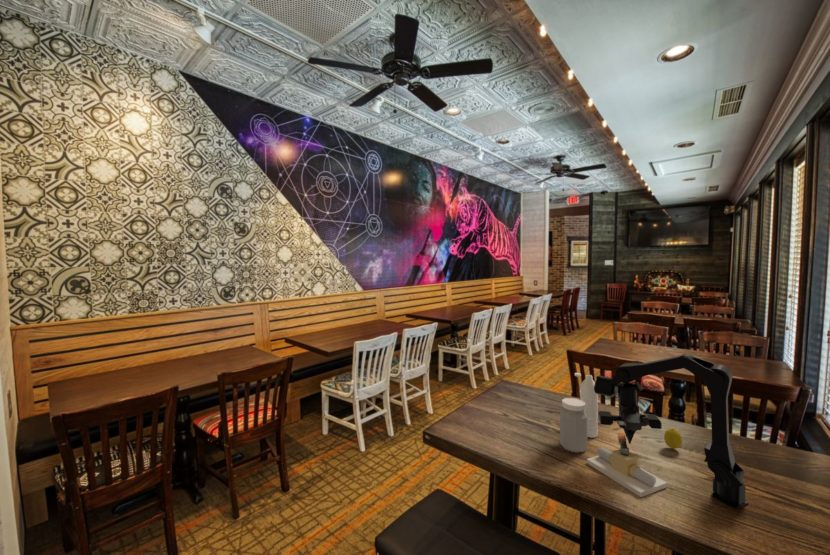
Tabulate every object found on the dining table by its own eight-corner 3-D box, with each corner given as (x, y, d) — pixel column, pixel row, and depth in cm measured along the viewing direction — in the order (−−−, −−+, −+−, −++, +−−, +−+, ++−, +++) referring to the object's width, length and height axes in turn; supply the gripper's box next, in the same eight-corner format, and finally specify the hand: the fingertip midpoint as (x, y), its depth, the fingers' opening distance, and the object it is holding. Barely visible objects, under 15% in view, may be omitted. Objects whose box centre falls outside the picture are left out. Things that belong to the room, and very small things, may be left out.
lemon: (685, 453, 131) (685, 432, 130) (668, 452, 132) (668, 431, 131) (677, 445, 136) (677, 425, 136) (661, 444, 137) (661, 424, 137)
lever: (629, 456, 117) (629, 450, 117) (620, 454, 118) (620, 448, 118) (625, 439, 128) (625, 433, 128) (616, 437, 129) (616, 432, 129)
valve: (666, 487, 112) (667, 465, 111) (640, 497, 107) (640, 474, 107) (611, 455, 130) (611, 437, 130) (586, 462, 126) (586, 443, 126)
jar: (555, 447, 137) (555, 402, 136) (565, 438, 144) (565, 394, 143) (582, 457, 130) (582, 409, 129) (591, 446, 137) (591, 401, 136)
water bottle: (598, 432, 148) (598, 373, 147) (597, 439, 142) (597, 378, 141) (575, 428, 152) (575, 371, 151) (573, 434, 146) (573, 375, 145)
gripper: (602, 407, 120) (604, 452, 121) (666, 411, 114) (668, 458, 115) (596, 395, 131) (598, 436, 131) (655, 398, 125) (657, 441, 125)
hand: (629, 443), depth 125 cm, fingers closed
